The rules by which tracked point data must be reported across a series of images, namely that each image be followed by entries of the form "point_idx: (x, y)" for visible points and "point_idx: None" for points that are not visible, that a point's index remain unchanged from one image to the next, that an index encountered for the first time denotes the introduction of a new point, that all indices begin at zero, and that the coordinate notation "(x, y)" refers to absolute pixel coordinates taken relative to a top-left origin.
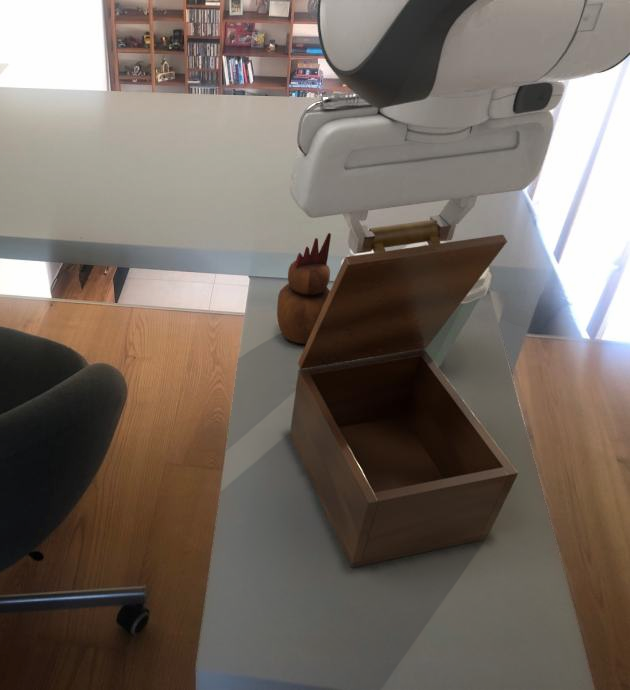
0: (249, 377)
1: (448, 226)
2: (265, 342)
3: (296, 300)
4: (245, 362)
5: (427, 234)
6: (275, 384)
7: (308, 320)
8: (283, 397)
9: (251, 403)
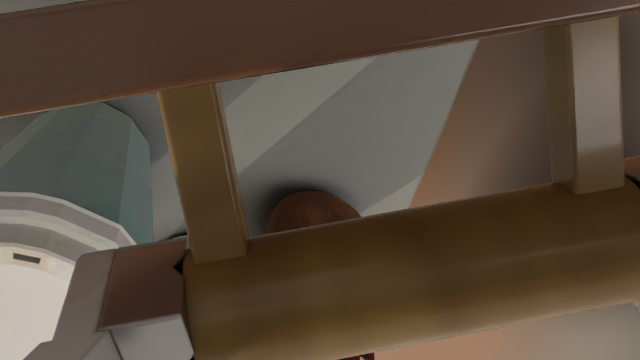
0: (437, 111)
1: (117, 320)
2: (380, 198)
3: None
4: (432, 150)
5: (265, 265)
6: (393, 91)
7: (323, 222)
8: (388, 55)
9: (454, 43)
